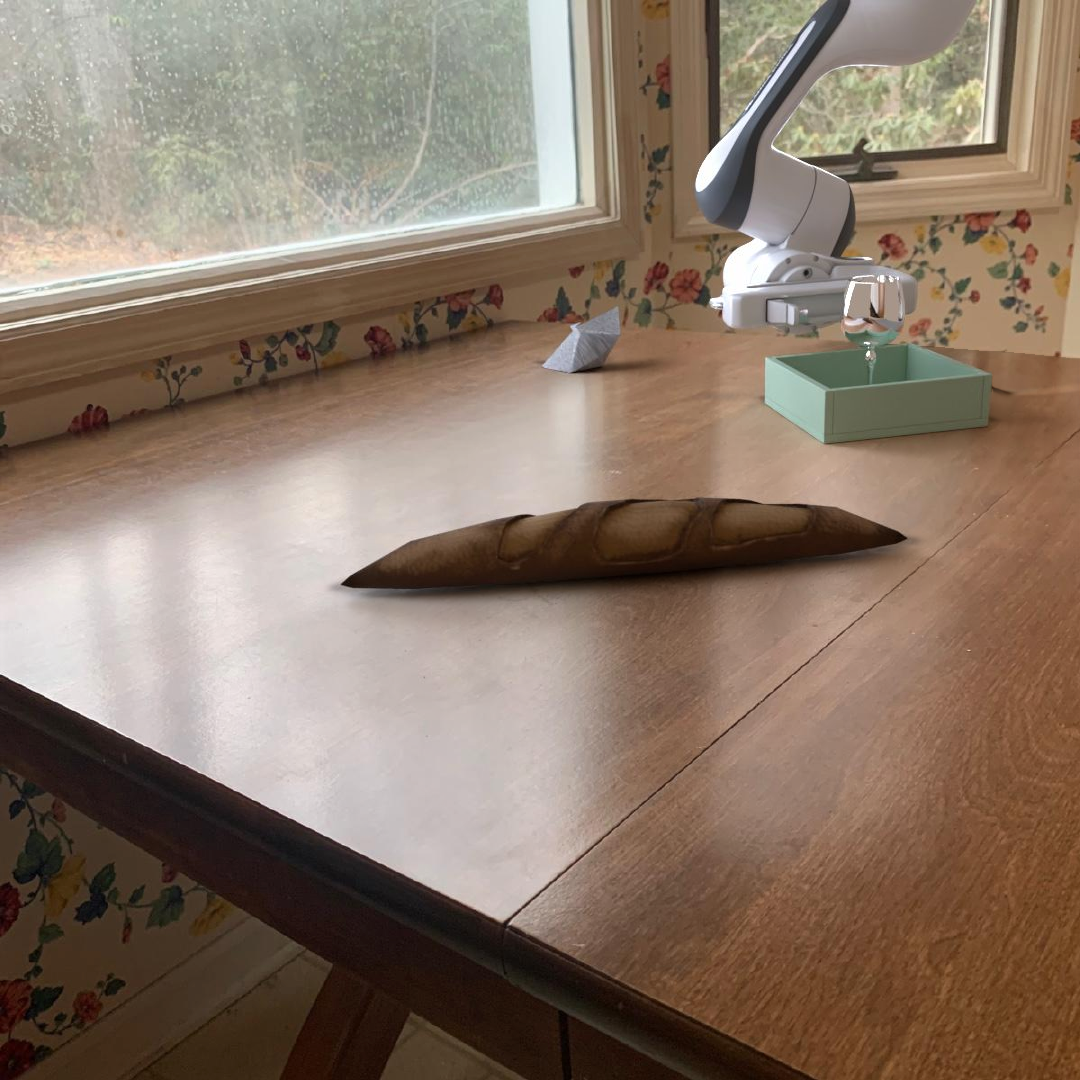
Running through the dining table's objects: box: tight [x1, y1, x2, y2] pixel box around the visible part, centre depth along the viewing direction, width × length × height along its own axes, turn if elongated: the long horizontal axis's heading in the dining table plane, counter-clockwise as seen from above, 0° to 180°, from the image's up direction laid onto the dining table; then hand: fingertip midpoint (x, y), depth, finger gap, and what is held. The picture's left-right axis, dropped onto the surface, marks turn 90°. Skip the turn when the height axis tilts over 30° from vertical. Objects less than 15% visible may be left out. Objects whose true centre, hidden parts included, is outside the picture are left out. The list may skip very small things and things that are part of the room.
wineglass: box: [840, 276, 906, 385], centre depth 103 cm, size 6×6×12 cm
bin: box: [764, 342, 993, 445], centre depth 104 cm, size 16×16×5 cm
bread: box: [340, 496, 909, 590], centre depth 72 cm, size 38×5×5 cm, turn 93°
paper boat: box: [541, 306, 621, 374], centre depth 133 cm, size 12×6×9 cm
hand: (847, 312), depth 107 cm, fingers open, 8 cm apart
